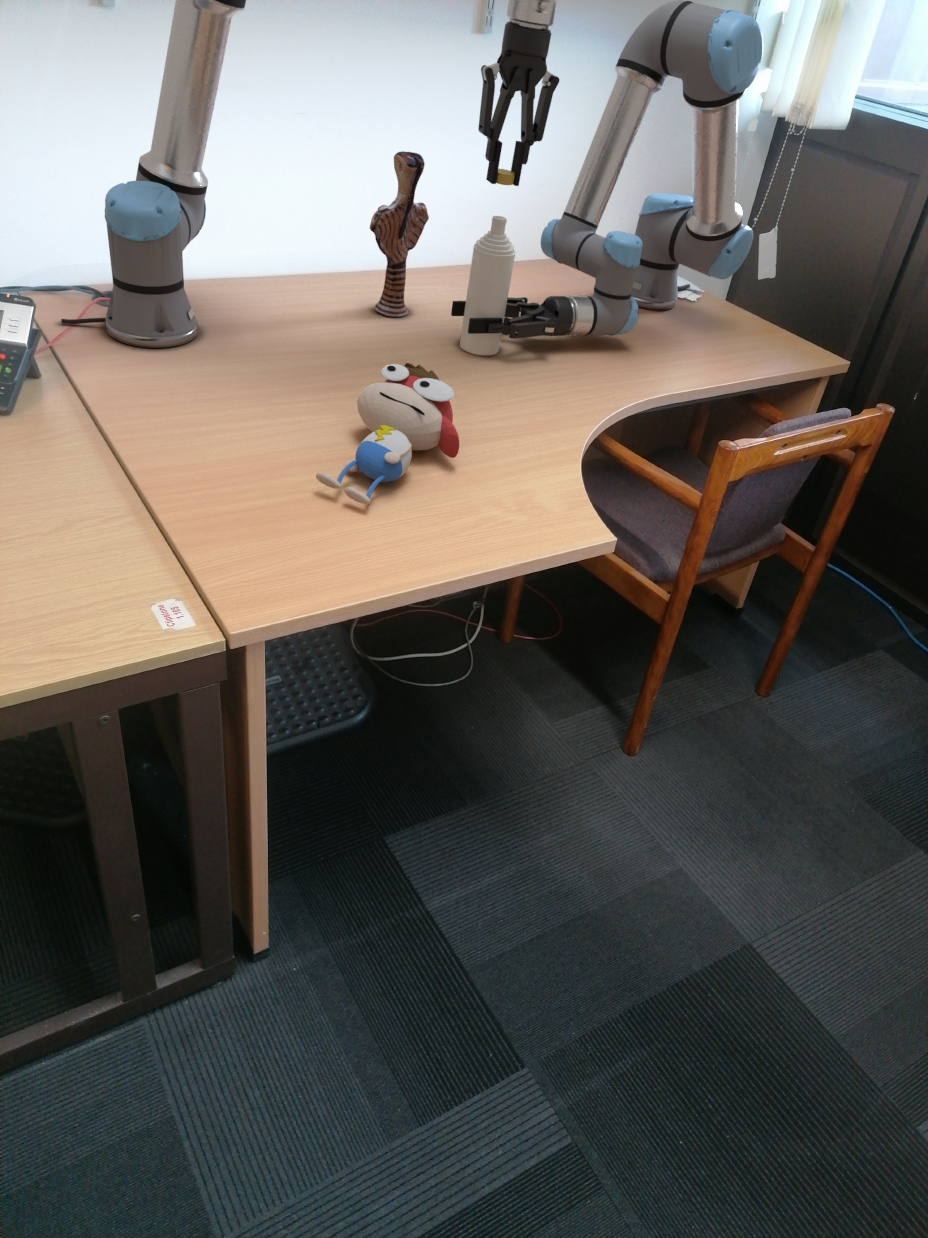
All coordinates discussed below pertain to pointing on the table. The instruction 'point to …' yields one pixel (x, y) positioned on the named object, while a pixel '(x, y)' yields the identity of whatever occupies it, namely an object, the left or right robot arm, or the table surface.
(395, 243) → the figurine
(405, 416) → the toy
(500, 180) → the cap
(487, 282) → the bottle
